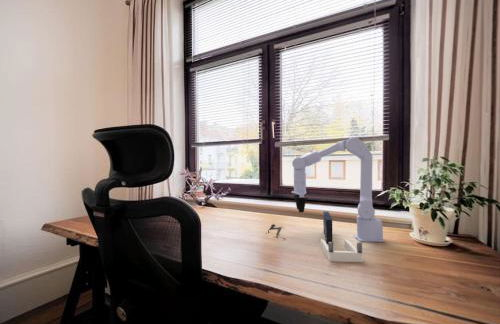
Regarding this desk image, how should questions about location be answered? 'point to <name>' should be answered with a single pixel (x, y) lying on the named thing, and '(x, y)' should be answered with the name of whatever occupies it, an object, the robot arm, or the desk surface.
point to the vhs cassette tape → (327, 227)
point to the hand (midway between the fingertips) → (300, 210)
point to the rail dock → (343, 252)
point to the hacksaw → (277, 231)
